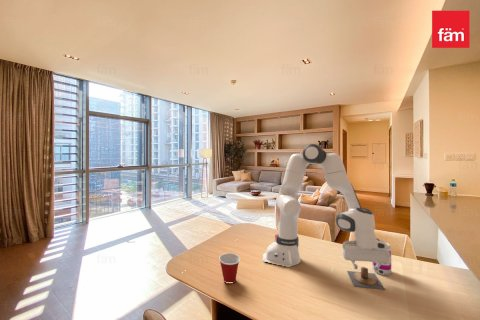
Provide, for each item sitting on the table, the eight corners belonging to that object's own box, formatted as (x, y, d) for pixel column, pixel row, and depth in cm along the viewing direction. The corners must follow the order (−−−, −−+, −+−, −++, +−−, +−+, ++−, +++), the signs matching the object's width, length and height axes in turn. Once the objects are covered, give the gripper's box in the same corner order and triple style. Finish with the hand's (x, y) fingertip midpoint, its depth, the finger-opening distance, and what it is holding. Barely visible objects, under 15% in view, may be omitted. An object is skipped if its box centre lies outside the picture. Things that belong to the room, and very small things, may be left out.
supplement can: (394, 276, 109) (394, 247, 108) (376, 275, 110) (376, 246, 110) (386, 268, 117) (386, 240, 116) (370, 267, 118) (369, 240, 118)
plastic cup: (235, 289, 101) (234, 264, 101) (215, 284, 106) (214, 260, 106) (244, 277, 111) (243, 254, 111) (225, 273, 116) (225, 251, 115)
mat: (353, 286, 102) (353, 285, 102) (347, 271, 114) (347, 270, 114) (385, 289, 99) (385, 288, 99) (374, 274, 111) (374, 273, 111)
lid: (356, 283, 103) (356, 273, 103) (350, 272, 112) (350, 262, 112) (380, 286, 100) (379, 275, 100) (372, 274, 110) (372, 264, 110)
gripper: (343, 243, 106) (344, 271, 106) (391, 245, 101) (391, 274, 102) (340, 238, 112) (341, 264, 112) (385, 239, 107) (385, 267, 108)
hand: (365, 269), depth 107 cm, fingers open, 8 cm apart
